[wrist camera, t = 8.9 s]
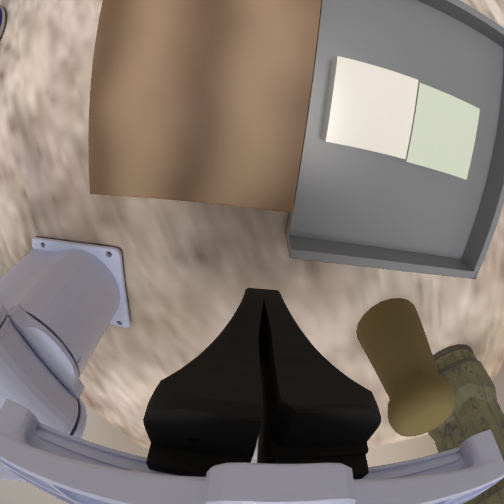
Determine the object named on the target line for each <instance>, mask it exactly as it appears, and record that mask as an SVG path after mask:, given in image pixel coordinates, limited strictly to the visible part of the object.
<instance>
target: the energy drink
mask: <svg viewBox="0 0 504 504" xmlns="http://www.w3.org/2000/svg"><path fill="white" fill-rule="evenodd" d="M5 21H6V15H5V11H4V9H3V7H1V6H0V38H1V35H2V33H3V30H4V27H5Z"/></svg>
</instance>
